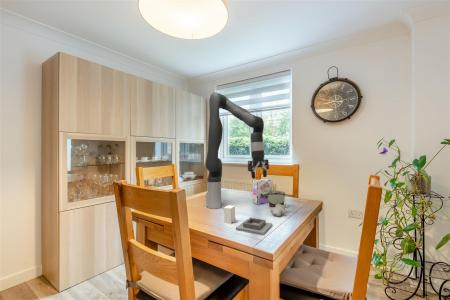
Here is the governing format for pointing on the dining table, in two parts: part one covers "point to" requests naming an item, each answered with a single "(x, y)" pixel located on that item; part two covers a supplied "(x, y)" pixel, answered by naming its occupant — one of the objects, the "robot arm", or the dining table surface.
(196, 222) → the dining table surface
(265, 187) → the candy box
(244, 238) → the dining table surface
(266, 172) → the robot arm
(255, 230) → the socket plate
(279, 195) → the food container
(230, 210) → the plug
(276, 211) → the bunny figurine
